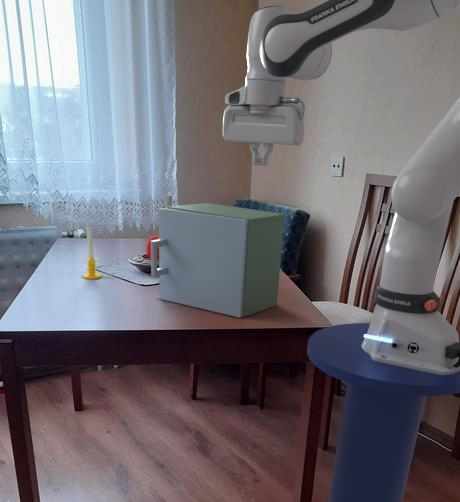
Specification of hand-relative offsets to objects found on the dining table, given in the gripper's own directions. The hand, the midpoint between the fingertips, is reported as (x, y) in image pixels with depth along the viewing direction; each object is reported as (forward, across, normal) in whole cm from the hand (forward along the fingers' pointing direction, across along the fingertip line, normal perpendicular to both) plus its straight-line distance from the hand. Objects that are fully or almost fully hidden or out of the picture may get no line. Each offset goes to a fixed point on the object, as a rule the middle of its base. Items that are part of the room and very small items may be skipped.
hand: (260, 165), depth 128 cm
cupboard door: (+35, +13, +8) cm, 39 cm away
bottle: (+36, +37, -9) cm, 52 cm away
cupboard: (+36, +13, -4) cm, 38 cm away
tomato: (+36, +53, -23) cm, 68 cm away
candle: (+36, +57, +4) cm, 67 cm away
